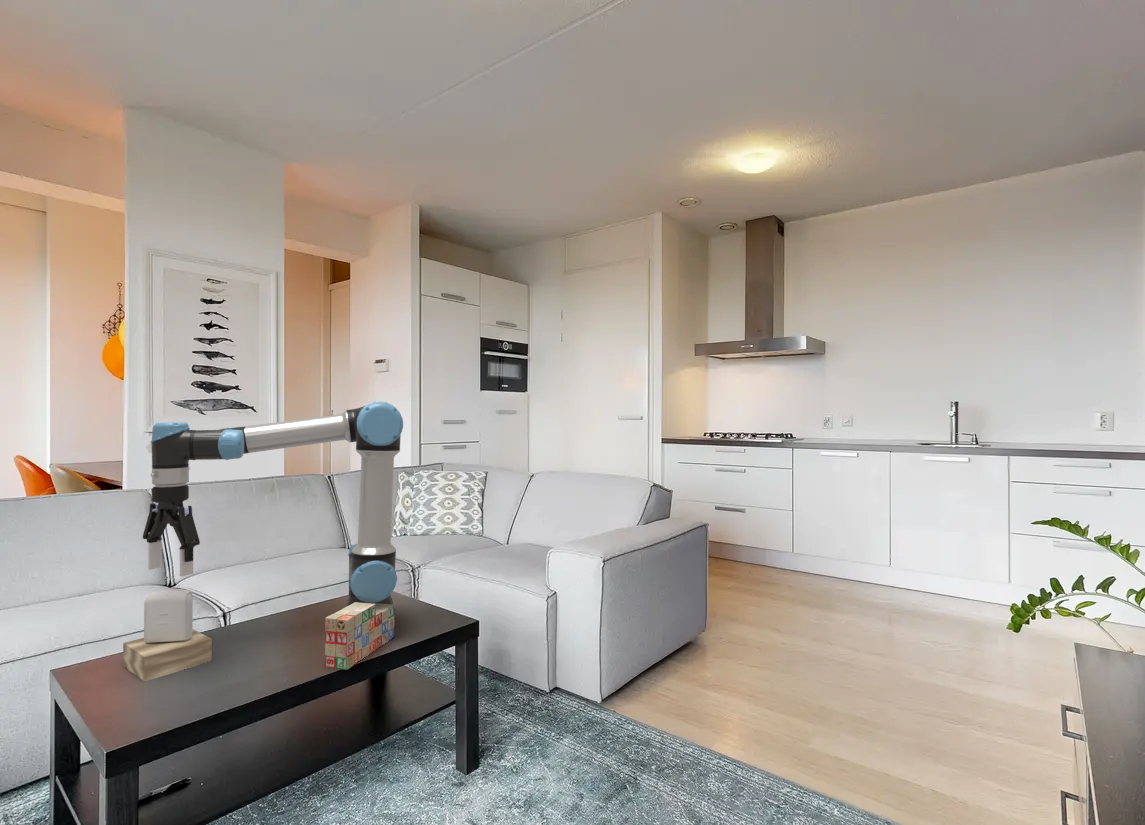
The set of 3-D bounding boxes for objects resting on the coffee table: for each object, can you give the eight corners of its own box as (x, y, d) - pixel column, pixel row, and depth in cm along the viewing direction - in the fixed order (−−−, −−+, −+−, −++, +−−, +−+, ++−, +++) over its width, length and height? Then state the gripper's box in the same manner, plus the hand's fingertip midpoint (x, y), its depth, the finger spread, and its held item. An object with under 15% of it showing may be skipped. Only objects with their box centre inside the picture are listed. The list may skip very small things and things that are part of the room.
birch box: (211, 663, 145) (211, 638, 145) (144, 683, 134) (145, 657, 134) (187, 649, 153) (187, 626, 153) (122, 667, 142) (123, 642, 142)
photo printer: (140, 644, 141) (141, 592, 141) (150, 638, 145) (151, 587, 146) (186, 642, 142) (187, 590, 143) (195, 636, 147) (196, 586, 147)
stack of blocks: (374, 636, 163) (374, 591, 163) (394, 638, 161) (395, 593, 161) (324, 668, 142) (324, 616, 142) (346, 670, 140) (347, 619, 140)
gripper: (126, 484, 147) (126, 569, 147) (183, 489, 135) (183, 581, 135) (158, 480, 153) (159, 562, 153) (216, 486, 142) (216, 574, 142)
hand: (170, 571), depth 144 cm, fingers open, 13 cm apart
